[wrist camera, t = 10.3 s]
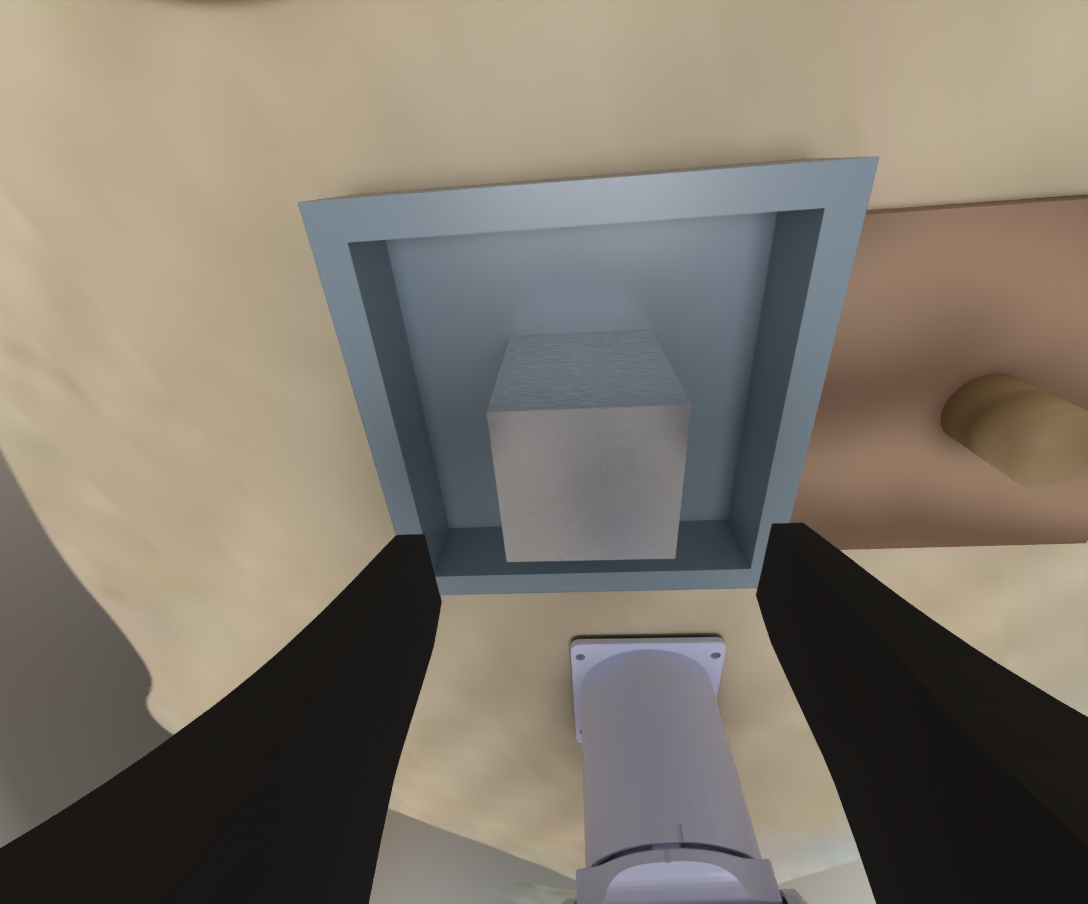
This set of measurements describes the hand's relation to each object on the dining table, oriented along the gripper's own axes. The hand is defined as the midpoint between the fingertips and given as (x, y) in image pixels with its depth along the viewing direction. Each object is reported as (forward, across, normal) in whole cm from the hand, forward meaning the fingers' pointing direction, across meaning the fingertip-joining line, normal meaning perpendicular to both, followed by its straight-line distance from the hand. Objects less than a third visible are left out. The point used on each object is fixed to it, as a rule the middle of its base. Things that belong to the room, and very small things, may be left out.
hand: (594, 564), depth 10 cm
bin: (+9, 0, 0) cm, 9 cm away
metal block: (+9, 0, 0) cm, 9 cm away
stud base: (+9, -14, +1) cm, 17 cm away
